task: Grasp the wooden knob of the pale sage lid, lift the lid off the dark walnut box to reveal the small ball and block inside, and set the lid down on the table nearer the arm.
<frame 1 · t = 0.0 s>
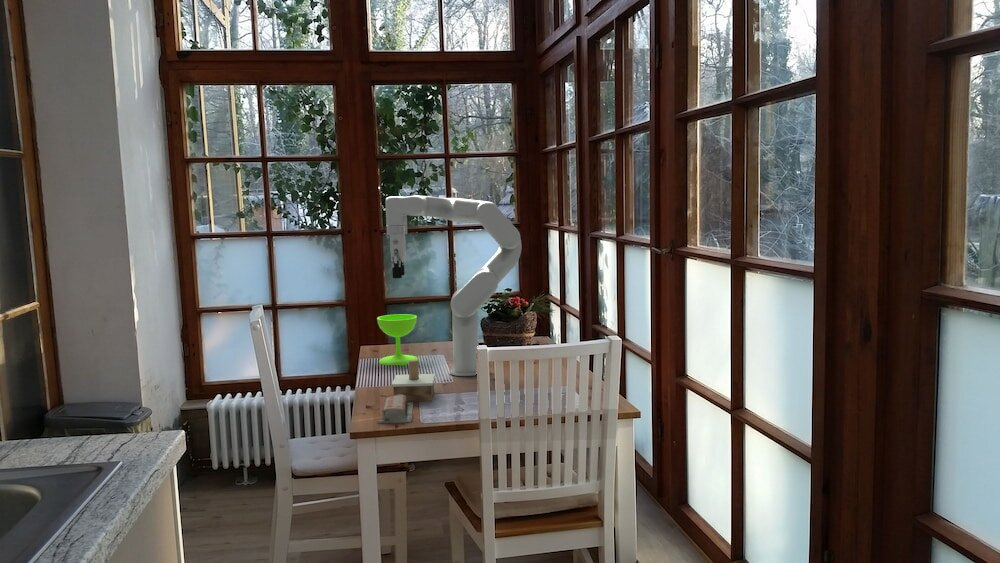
hand: (398, 276, 283), 37 cm above the table, tool pointing down, fingers open, 9 cm apart
wineglass: (398, 361, 311), on the table
walnut box: (414, 399, 252), on the table
packaged product: (396, 416, 235), on the table
lid: (414, 381, 251), point 6 cm above the table, touching walnut box
grey ball: (422, 394, 254), point 1 cm above the table, touching walnut box
beech block: (406, 399, 249), point 1 cm above the table, touching walnut box
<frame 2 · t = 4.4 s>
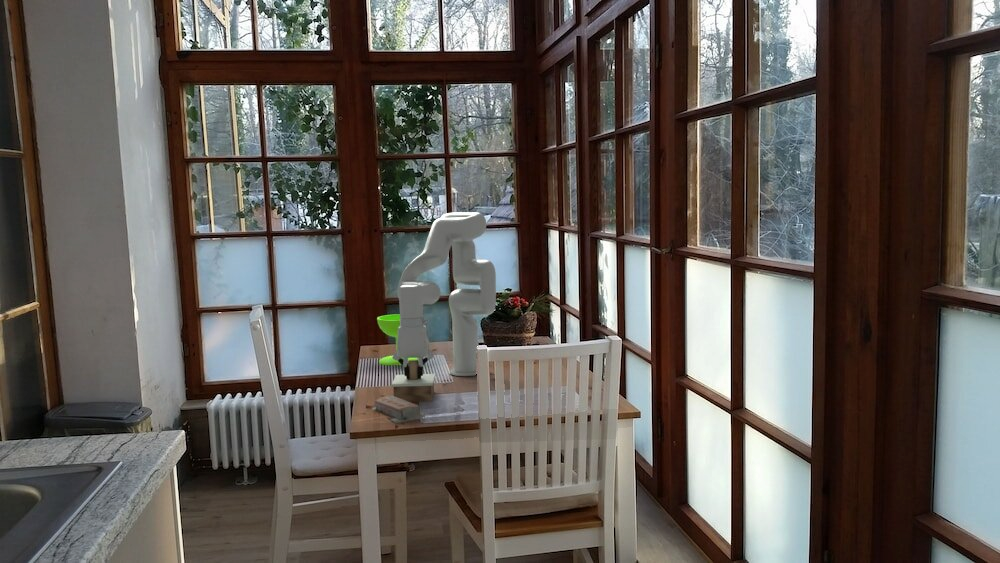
hand: (413, 377, 251), 7 cm above the table, tool pointing down, fingers closed on lid, 3 cm apart
lid: (414, 381, 251), point 6 cm above the table, touching gripper, walnut box
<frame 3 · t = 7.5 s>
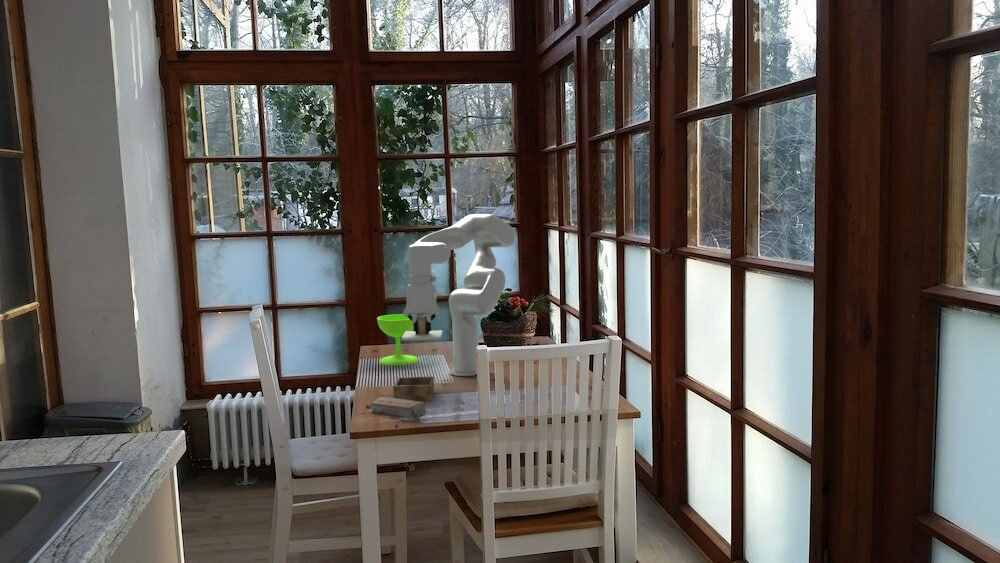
hand: (422, 332, 264), 19 cm above the table, tool pointing down, fingers closed on lid, 3 cm apart
lid: (422, 336, 265), point 18 cm above the table, touching gripper
when the fingers open (3 cm above the table, at t = 11.0 s): lid drops 2 cm, on the table.
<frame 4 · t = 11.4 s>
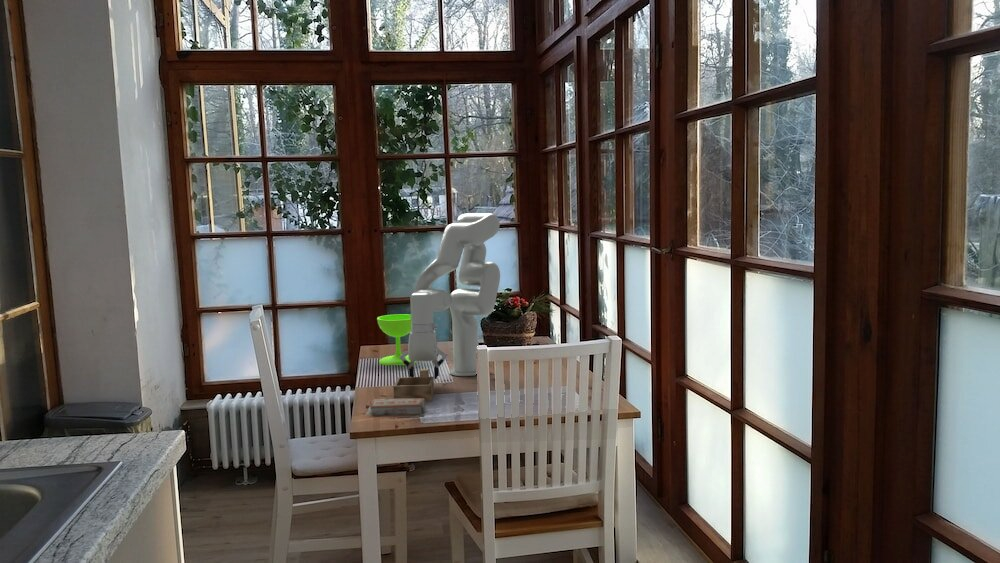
hand: (424, 378, 266), 3 cm above the table, tool pointing down, fingers open, 7 cm apart
lid: (424, 389, 267), on the table
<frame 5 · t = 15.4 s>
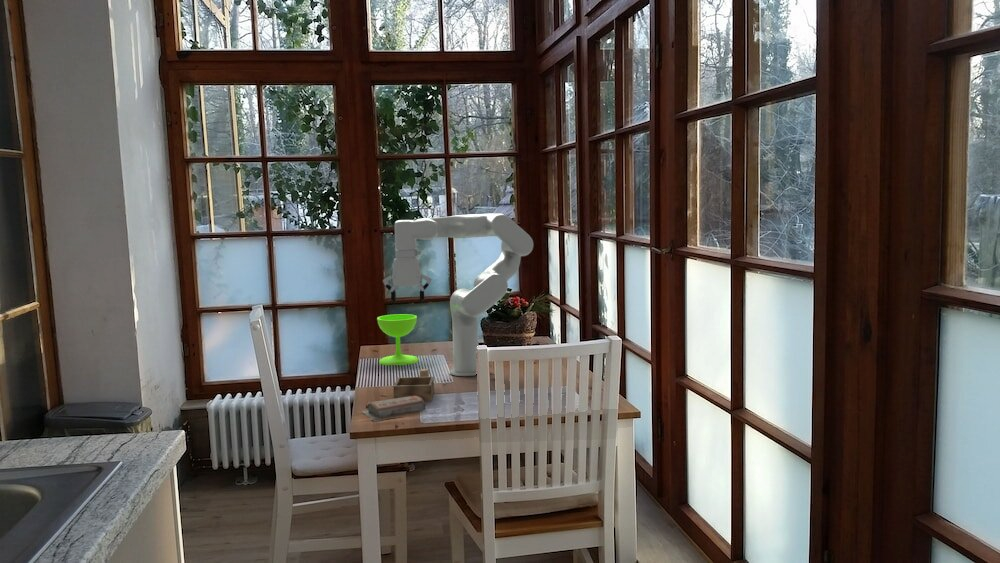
hand: (407, 302, 276), 28 cm above the table, tool pointing down, fingers open, 9 cm apart
at the end: lid inside the target area (0.1 cm from its centre), on the table; lid tilted 0°; the gripper is holding nothing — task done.
